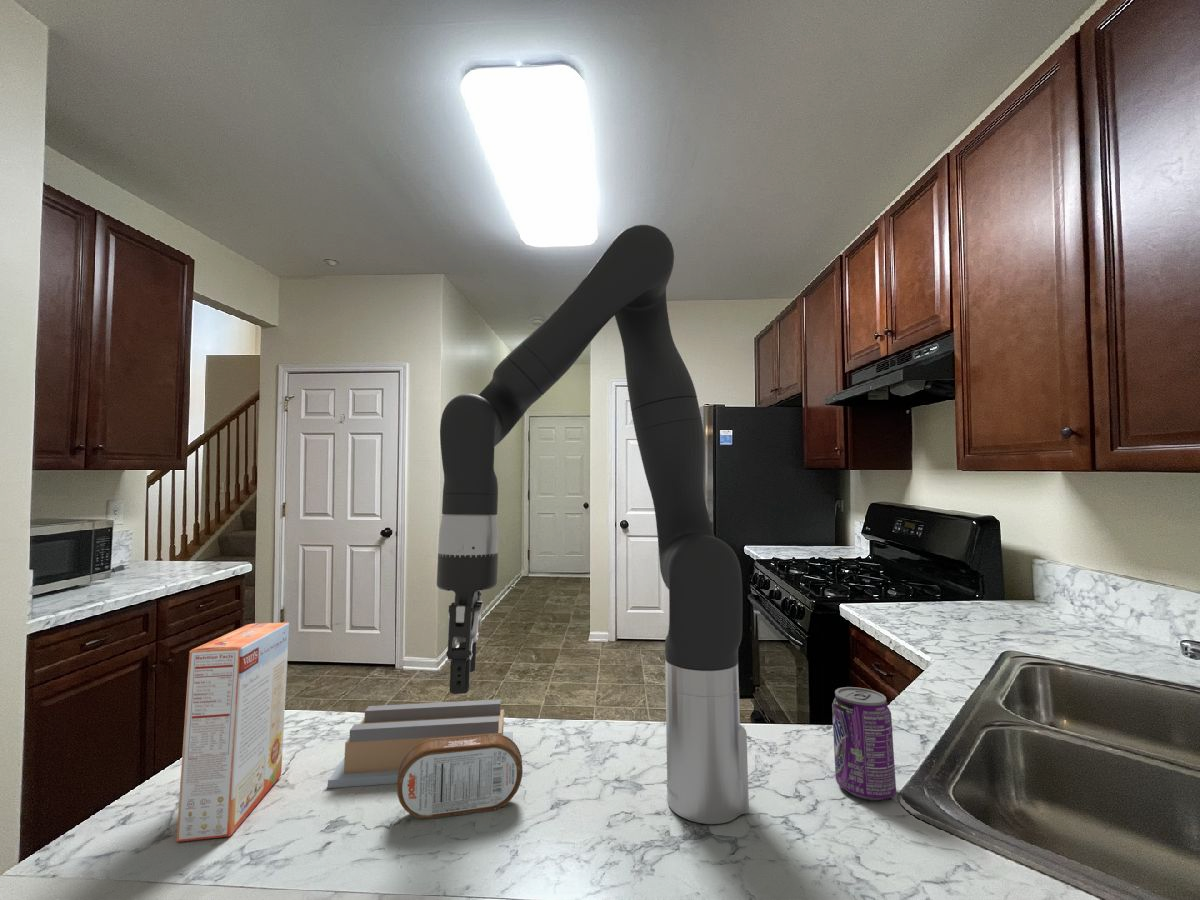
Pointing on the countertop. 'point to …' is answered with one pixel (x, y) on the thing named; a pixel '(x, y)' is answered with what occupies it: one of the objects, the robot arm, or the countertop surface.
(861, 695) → the beverage can
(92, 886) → the countertop surface
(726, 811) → the robot arm
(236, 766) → the cracker box
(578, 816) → the countertop surface
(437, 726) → the grey tan slotted stand
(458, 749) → the tin
